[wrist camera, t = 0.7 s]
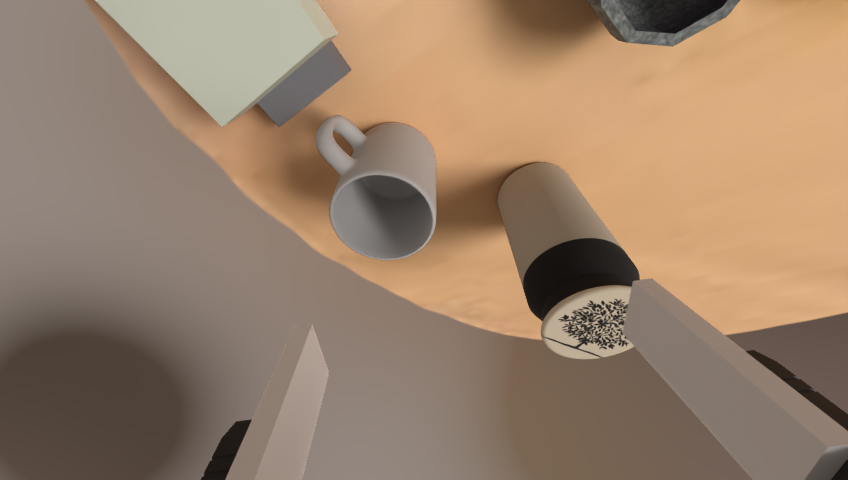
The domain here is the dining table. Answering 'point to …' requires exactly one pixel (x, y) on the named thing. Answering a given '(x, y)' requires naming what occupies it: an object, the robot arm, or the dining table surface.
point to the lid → (225, 45)
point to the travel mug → (567, 263)
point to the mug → (381, 187)
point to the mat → (305, 84)
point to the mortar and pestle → (659, 18)
